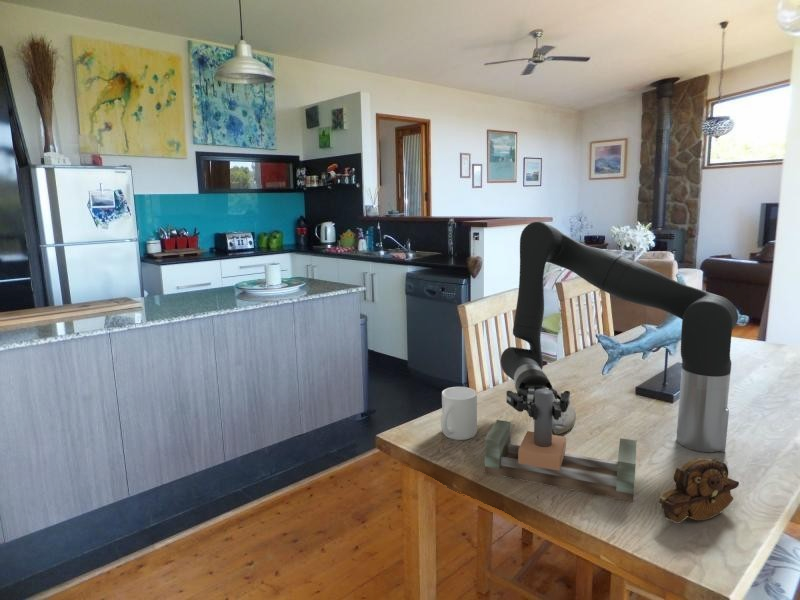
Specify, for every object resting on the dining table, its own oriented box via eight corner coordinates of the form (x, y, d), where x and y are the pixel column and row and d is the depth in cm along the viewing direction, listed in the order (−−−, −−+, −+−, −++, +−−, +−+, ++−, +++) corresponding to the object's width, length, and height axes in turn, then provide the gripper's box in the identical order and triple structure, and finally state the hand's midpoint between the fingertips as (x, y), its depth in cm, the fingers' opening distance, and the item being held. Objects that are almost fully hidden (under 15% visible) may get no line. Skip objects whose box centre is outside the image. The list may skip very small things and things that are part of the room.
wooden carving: (679, 538, 86) (683, 482, 84) (654, 522, 90) (658, 469, 88) (742, 510, 93) (747, 458, 91) (717, 497, 97) (722, 447, 95)
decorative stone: (545, 435, 124) (545, 422, 123) (552, 410, 138) (553, 398, 137) (572, 439, 122) (572, 426, 121) (577, 413, 136) (577, 401, 135)
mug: (458, 450, 118) (457, 407, 116) (427, 441, 123) (426, 399, 121) (483, 431, 127) (483, 390, 125) (453, 423, 132) (453, 384, 130)
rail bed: (634, 475, 105) (636, 440, 104) (633, 501, 96) (635, 464, 95) (497, 451, 117) (497, 419, 115) (484, 472, 108) (484, 439, 106)
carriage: (565, 450, 110) (567, 386, 107) (559, 470, 102) (561, 402, 99) (527, 443, 113) (528, 382, 110) (518, 463, 105) (519, 397, 102)
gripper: (500, 368, 119) (509, 397, 102) (564, 368, 118) (584, 397, 101) (500, 399, 121) (509, 432, 104) (563, 400, 119) (582, 433, 103)
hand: (546, 415), depth 103 cm, fingers closed on carriage, 3 cm apart
